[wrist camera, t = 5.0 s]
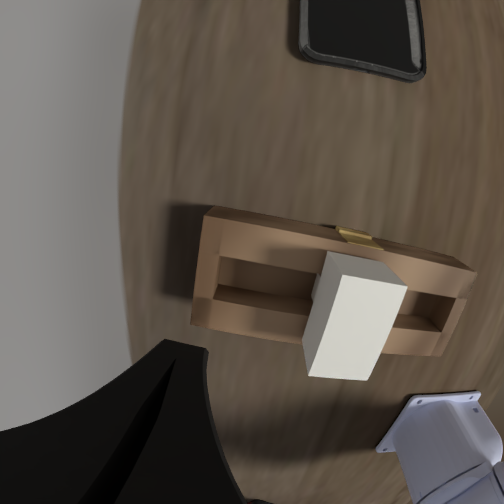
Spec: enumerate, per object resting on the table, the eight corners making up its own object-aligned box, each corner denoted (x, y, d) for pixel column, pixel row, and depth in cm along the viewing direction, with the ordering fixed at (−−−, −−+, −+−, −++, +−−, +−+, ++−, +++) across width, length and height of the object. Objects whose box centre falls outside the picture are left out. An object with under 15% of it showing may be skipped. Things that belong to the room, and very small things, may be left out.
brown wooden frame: (454, 254, 17) (478, 269, 14) (422, 335, 19) (439, 358, 16) (214, 202, 17) (204, 211, 14) (200, 302, 19) (190, 327, 16)
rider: (370, 250, 16) (407, 286, 11) (345, 327, 17) (367, 380, 13) (320, 239, 16) (342, 274, 11) (298, 320, 17) (308, 375, 13)
